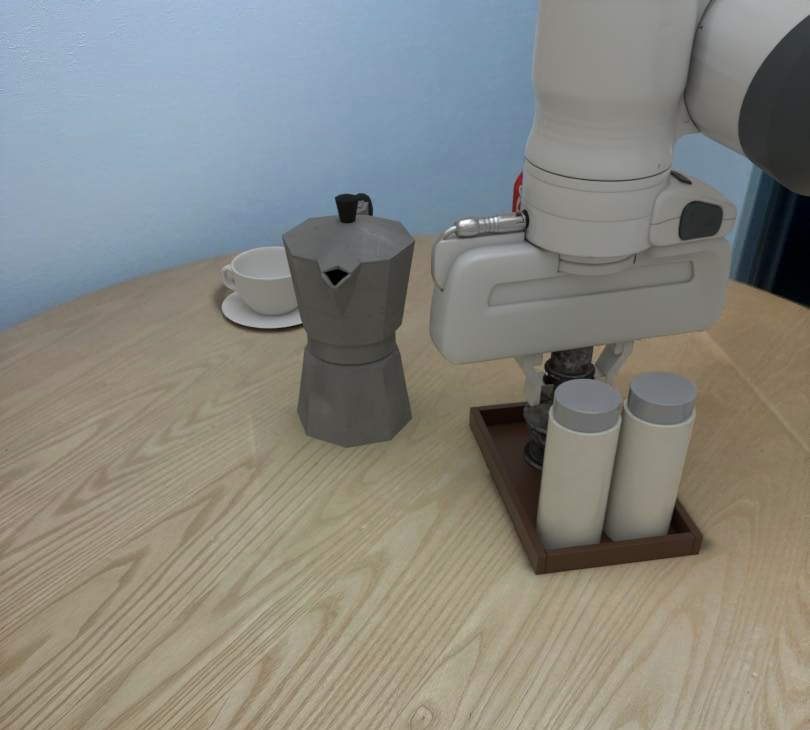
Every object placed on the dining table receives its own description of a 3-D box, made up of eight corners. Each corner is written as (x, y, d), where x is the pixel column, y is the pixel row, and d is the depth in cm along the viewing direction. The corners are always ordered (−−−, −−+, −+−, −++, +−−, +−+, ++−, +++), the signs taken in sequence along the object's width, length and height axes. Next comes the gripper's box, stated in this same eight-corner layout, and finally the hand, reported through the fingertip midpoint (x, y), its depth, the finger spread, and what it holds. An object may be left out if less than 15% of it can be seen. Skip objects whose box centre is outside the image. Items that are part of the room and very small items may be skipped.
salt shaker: (552, 424, 74) (569, 280, 66) (613, 455, 71) (639, 307, 63) (503, 454, 71) (515, 306, 63) (565, 487, 68) (586, 336, 60)
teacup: (338, 291, 94) (336, 246, 91) (308, 338, 86) (305, 290, 83) (243, 281, 95) (238, 236, 92) (205, 326, 88) (199, 278, 85)
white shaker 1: (587, 513, 65) (610, 373, 58) (610, 553, 62) (636, 410, 55) (526, 520, 65) (542, 380, 58) (545, 561, 62) (564, 418, 54)
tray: (603, 414, 76) (606, 393, 75) (697, 559, 62) (704, 536, 61) (468, 428, 75) (469, 406, 73) (535, 580, 61) (538, 556, 60)
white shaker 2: (653, 505, 66) (682, 366, 59) (678, 544, 63) (713, 402, 56) (593, 512, 66) (616, 372, 58) (615, 552, 62) (642, 410, 55)
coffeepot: (405, 471, 70) (406, 235, 59) (280, 463, 71) (257, 228, 59) (422, 368, 82) (425, 155, 70) (315, 362, 83) (301, 150, 71)
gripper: (448, 241, 54) (441, 442, 63) (761, 206, 59) (714, 399, 67) (417, 203, 59) (415, 394, 68) (710, 173, 63) (672, 357, 72)
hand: (567, 396), depth 68 cm, fingers closed on salt shaker, 3 cm apart
